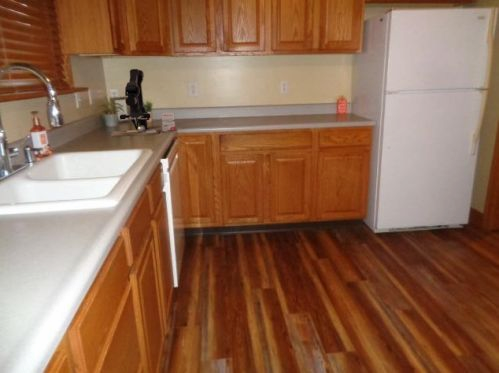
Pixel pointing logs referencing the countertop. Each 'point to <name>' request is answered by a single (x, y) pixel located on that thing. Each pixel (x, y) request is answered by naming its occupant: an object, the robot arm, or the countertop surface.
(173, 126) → the ink box
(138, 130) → the loose leaf
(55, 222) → the countertop surface
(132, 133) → the hinge board
